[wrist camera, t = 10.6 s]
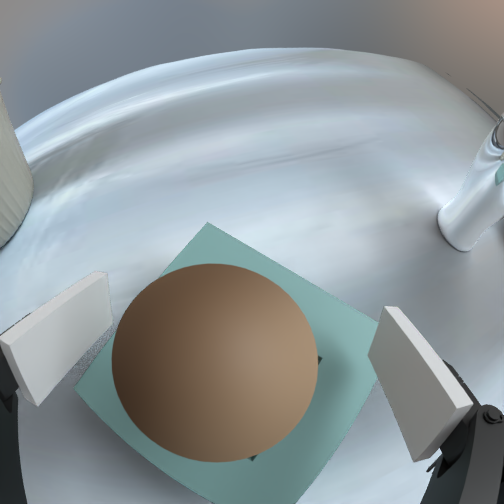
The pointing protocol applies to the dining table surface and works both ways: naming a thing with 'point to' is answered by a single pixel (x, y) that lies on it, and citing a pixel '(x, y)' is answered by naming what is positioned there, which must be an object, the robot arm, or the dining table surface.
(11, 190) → the canister
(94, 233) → the dining table surface
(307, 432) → the socket block
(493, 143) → the beer glass
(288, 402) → the dowel pin
